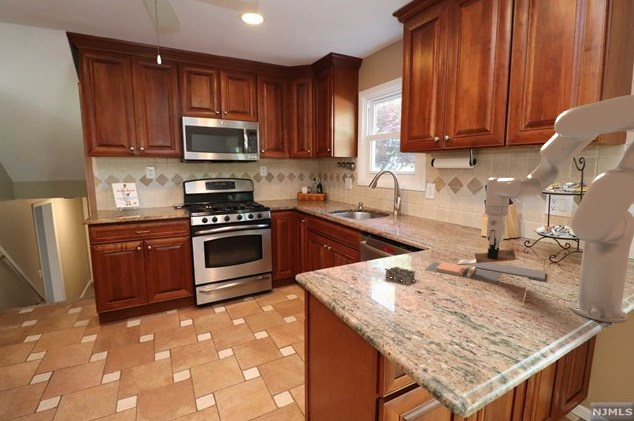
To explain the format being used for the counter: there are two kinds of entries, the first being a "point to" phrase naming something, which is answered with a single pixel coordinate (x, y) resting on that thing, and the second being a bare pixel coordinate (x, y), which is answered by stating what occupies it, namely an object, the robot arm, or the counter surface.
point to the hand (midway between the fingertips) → (493, 257)
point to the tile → (452, 268)
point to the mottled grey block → (400, 274)
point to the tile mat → (471, 273)
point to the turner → (482, 257)
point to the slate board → (512, 270)
